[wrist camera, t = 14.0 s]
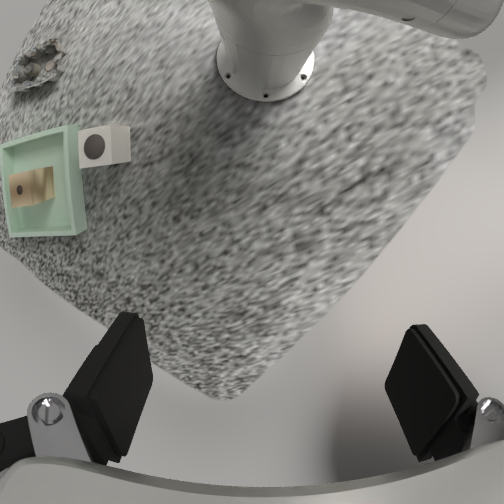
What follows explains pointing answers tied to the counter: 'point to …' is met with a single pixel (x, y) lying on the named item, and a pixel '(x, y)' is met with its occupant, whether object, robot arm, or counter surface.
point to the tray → (65, 183)
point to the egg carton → (37, 66)
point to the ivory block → (104, 145)
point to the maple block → (31, 187)
